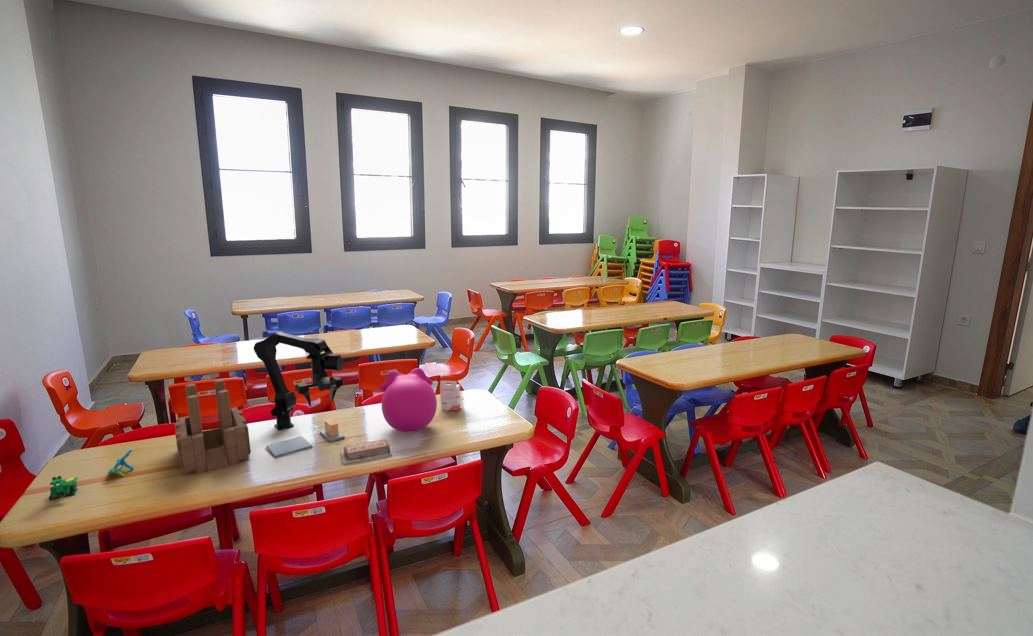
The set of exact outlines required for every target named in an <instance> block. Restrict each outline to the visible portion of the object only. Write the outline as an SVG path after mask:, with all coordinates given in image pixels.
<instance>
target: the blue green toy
mask: <svg viewBox="0 0 1033 636" xmlns="http://www.w3.org/2000/svg"><path fill="white" fill-rule="evenodd" d="M132 452H134V450H133V449H129V451H127V452H126V453H125V455H124V456H122V457H121V458H118V459H117V461H116V463H115V464H114V465H113V466H112V468H111V469H110V470H109V471H108V472H107V474H108V475H111V474H112V473H114V474H115V475H116V474H118V475H120V476H122V477H124V476H125V474H124V473H123V472H121V469H123V467H125V468H127V469H129V470H131V471H133V470H134V468H135V467H133V466H132V465H130V464H129V463H128V462H127V461H126V459H127V458H128V457H129V456H130V454H131V453H132ZM119 466H120V467H119ZM118 467H119V468H118Z"/></svg>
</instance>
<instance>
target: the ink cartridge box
mask: <svg viewBox="0 0 1033 636" xmlns="http://www.w3.org/2000/svg"><path fill="white" fill-rule="evenodd" d="M439 385H440V386H439V389H440V390H439V391H440V410H441V409H447V410H458V411H459V410H460V409H461V408H460V407H461V405H462V404H461V385H460V384H458V381H456V380H440V384H439ZM447 410H446V411H447Z"/></svg>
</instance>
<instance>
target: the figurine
mask: <svg viewBox="0 0 1033 636" xmlns="http://www.w3.org/2000/svg"><path fill="white" fill-rule="evenodd" d="M433 382H434V381H433V379H431V378H429V377H428V376H427V375H426V373H425V371H424V370H423V369H422V368H420V367H417V368H413V369H412V370H411V371H410V372H409V373H407V374H404V373H402V372H400V371H398V370H391V371H389V372H388V373H387V375H386V377H385V381H384V382H383V383H382V384H380V385H379V387H378V389H379V391H380V392H384V393H383V395H382V398H381V411H382V415H383V418H384V420H385V422H386V423H387V424H388V425H389V426H390V427H391V428H392V429H394V430H396V431H399V432H402V433H412V432H413V433H414V432H417V431H421V430H423V429H425V428H427V426H428V425H429V424H430V423H431V422H432V421H433V419H434V417H435V415H436V413H437V405H438V403H437V401H438V400H437V395H436V392H435V389H434V388H433V387H432V385H433Z"/></svg>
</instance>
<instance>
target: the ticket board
mask: <svg viewBox="0 0 1033 636" xmlns="http://www.w3.org/2000/svg"><path fill="white" fill-rule="evenodd" d="M265 447H266V449H267V450H268V451H269V452H270V453H271V455H272V456H273V457H274V458H275V459H277V458H280V457H283V456H284V457H285V456H287V455H290V454H295V453H298V452H302V451H305V450H309V449H312V448H313V444H312V443H310V441H308V439H306V438H305V437H304V436H303V435H300V436H297V437H292V438H289V439H286V440H282V441H278V442H273V443H270V444H267V445H266V446H265Z"/></svg>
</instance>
